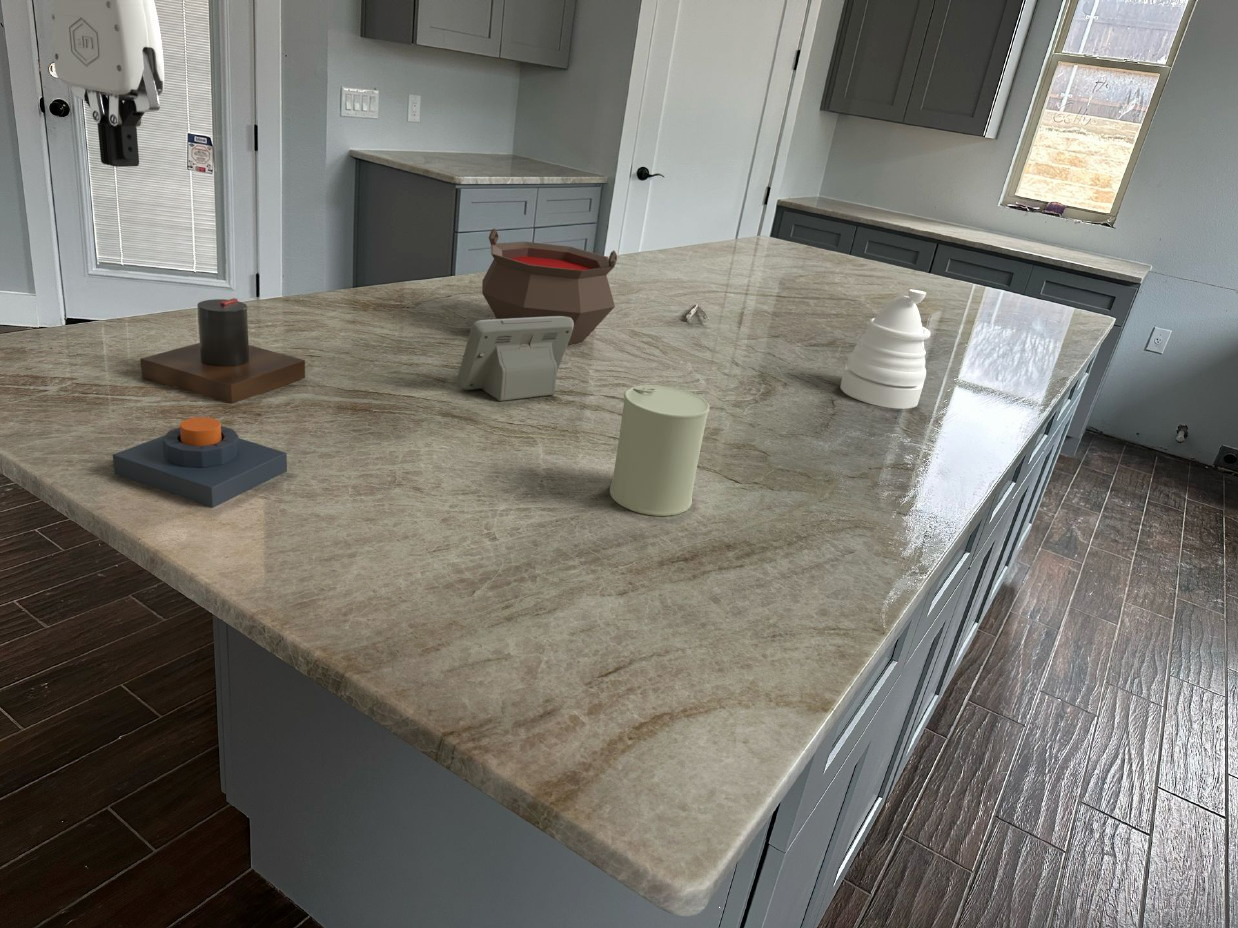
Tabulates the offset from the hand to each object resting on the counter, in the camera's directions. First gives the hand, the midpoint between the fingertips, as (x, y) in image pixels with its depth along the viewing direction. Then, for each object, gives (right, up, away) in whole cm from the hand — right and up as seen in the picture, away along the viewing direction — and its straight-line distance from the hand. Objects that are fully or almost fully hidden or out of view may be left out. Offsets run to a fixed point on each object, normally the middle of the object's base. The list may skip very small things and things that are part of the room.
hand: (120, 164), depth 88 cm
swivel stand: (+1, -20, +21) cm, 29 cm away
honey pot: (+96, -20, +54) cm, 111 cm away
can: (+56, -35, +6) cm, 66 cm away
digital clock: (+37, -21, +32) cm, 53 cm away
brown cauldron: (+39, -9, +60) cm, 72 cm away
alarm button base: (+10, -32, -3) cm, 34 cm away
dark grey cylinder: (+2, -18, +20) cm, 27 cm away
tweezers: (+68, 0, +89) cm, 112 cm away
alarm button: (+11, -29, -5) cm, 31 cm away
